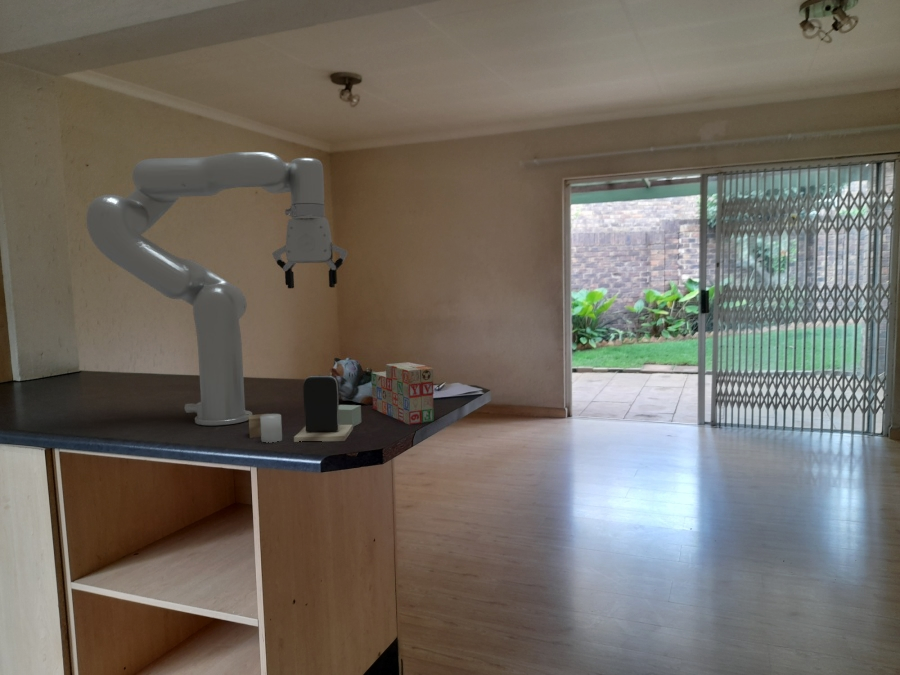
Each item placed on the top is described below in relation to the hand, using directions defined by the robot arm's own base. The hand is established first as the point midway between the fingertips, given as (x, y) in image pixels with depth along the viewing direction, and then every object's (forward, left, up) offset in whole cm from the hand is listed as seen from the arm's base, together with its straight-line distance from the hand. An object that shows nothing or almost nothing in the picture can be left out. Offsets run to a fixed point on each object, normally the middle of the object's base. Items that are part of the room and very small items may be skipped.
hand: (311, 287), depth 144 cm
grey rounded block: (-4, -23, -30) cm, 38 cm away
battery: (+6, -20, -30) cm, 36 cm away
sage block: (+9, -10, -31) cm, 33 cm away
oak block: (-8, -18, -30) cm, 36 cm away
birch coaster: (+6, -20, -30) cm, 37 cm away
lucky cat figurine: (+8, +17, -31) cm, 36 cm away
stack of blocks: (+20, -1, -31) cm, 37 cm away
